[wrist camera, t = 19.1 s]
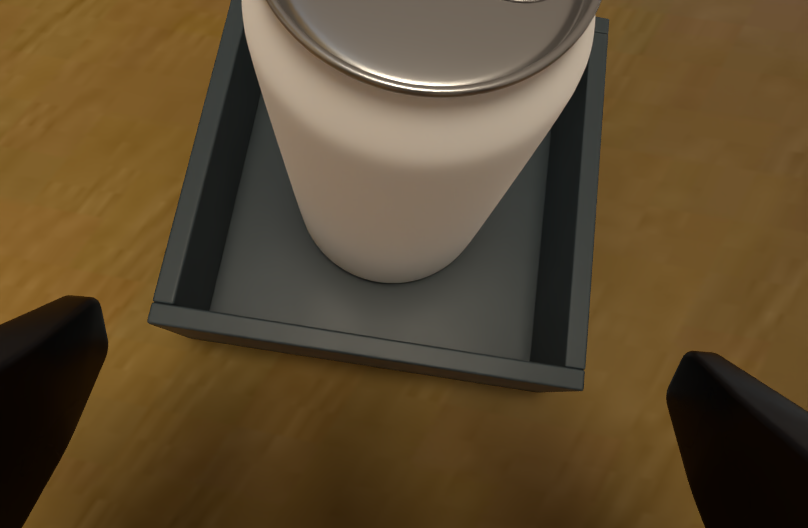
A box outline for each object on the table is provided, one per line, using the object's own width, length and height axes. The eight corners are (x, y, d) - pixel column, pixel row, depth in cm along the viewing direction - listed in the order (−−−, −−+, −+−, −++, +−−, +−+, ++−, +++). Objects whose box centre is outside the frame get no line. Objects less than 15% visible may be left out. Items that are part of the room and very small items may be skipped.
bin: (539, 392, 19) (584, 391, 16) (189, 338, 19) (145, 323, 15) (566, 84, 22) (610, 18, 19) (263, 30, 22) (243, -49, 18)
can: (485, 284, 20) (667, 121, 8) (300, 289, 19) (206, 122, 8) (473, 117, 21) (611, -226, 10) (300, 116, 21) (222, -245, 9)
